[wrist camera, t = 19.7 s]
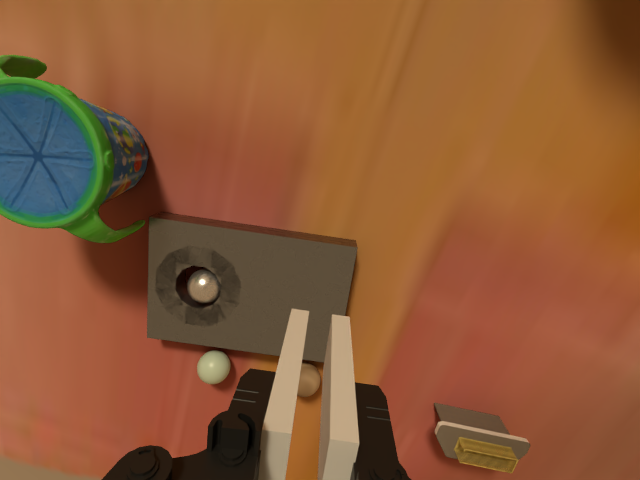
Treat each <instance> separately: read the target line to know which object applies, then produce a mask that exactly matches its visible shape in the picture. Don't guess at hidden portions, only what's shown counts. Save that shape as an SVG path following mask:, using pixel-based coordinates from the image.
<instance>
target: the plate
mask: <svg viewBox="0 0 640 480" xmlns="http://www.w3.org/2000/svg"><path fill="white" fill-rule="evenodd" d="M356 253H357V244H356V240H349V239H342V238H335V237H328V236H322V235H315V234H308V233H301V232H294V231H288V230H281V229H274V228H267V227H260V226H254V225H247V224H240V223H233V222H226V221H220V220H213V219H206V218H199V217H192V216H186V215H179V214H172V213H165V212H159V213H157V214H155V215H153V216H150V217H149V254H148V312H147V338H154V339H161V340H168V341H175V342H182V343H189V344H197V345H204V346H211V347H218V348H225V349H232V350H239V351H246V352H254V353H261V354H268V355H275V356H280V354H281V350H282V346H283V342H284V338H285V334H286V330H287V326H288V322H289V318H290V314H291V310H292V309H299V310H306V311H309V316H308V323H307V330H306V337H305V344H304V351H303V358H302V359H303V360H311V361H318V362H324V361H325V355H326V349H327V342H328V336H329V330H330V324H331V318H332V314H334V315H341V316H345V313H346V308H347V302H348V297H349V291H350V286H351V280H352V275H353V269H354V264H355V259H356ZM191 266H200V267H206V268H207V269H208V270H210V271H211V272H213V273H214V274H216V276H217V278H218V280H219V282H220V284H221V289H220V296H219V297H218V298H217V299H216V300H214V301H212V302H209V303H200V302H197V301H195V300H194V299H192V298H191V296H190V295H189V293H188V290H187V283H186V281H185V270H186V268H188V267H191Z"/></svg>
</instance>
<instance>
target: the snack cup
mask: <svg viewBox="0 0 640 480" xmlns="http://www.w3.org/2000/svg"><path fill="white" fill-rule="evenodd" d="M46 69H47V66H46V65H45V64H44V63H42V62H41V61H39V60H38V59H34V58H31V57H25V56H18V55H2V56H0V214H1V215H2V216H4V217H6V218H7V219H9V220H12V221H14V222H16V223H19V224H22V225H25V226H28V227H34V228H62V229H64V230H67V231H68V232H70V233H72V234H73V235H75V236H78V237H80V238H82V239H85V240H88V241H92V242H97V243H112V242H116V241H118V240H120V239H122V238H123V237H126V236H128V235H130V234H132V233H134V232H135V231H137V230H139V229H140V228H141V227H142V226H143V225H144V224H145V220H139V221H137V222H135V223H133V224H132V225H130V226H128V227H126V228H122V229H119V230H116V231H114V230H113V229H111V228H110V227H108V226H107V225H106V224H104V222H103V221H102V220H101V219H100V217H99V213H98V210H99V207H100V205H102V204H104V203H105V202H107V201H109V200H111V199H113V198H115V197H117V196H119V195H120V194H122V193H123V192H125V191H127V190H129V189H130V188H132V187H134V186H135V185H136V184H137V182H138V181H139V180H140V179H141V178H142V176H143V175H144V173H145V171H146V167H147V160H148V158H149V155H148V150H147V148H146V146H145V142H144V139H143V137H142V135H141V134H140V133H139V131H138V130H137V129H136V128H135V127H134V126H133V125H132V124H131V123H130V122H129V121H128V120H127V119H126V118H124V117H122V116H119V115H118V114H116V113H114V112H112V111H110V110H107V109H105V108H102V107H100V106H97V105H95V104H92V103H90V102H87V101H85V100H82V99H79V98H78V97H77V96H76V95H75V94H74V93H73V92H71V91H70V90H68V89H66V88H65V87H63V86H61V85H54V84H51V83H49V82H46V81H42V80H38V79H35V78H37V77H38V76H40V75H42V74H43V73H44V72H45V71H46ZM6 74H7V75H9V76H11V77H9V76H7V75H6Z"/></svg>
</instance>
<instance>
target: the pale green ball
mask: <svg viewBox="0 0 640 480" xmlns="http://www.w3.org/2000/svg"><path fill="white" fill-rule="evenodd" d="M230 367H231V365H230V360H229V358H228V356H227V355H226V354H225V353H223V352H222V351H218V350H212V351H209V352H207V353H205V354H204V355H203V356H202V357H201V358H200V360H199V362H198V365H197V372H198V375H199V377H200V379H201V380H202V381H203V382H205V383H208V384H217V383H220V382H222V381H223V380H224V379H225V378H226V377H227V376H228V374H229V371H230Z"/></svg>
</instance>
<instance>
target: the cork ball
mask: <svg viewBox="0 0 640 480" xmlns="http://www.w3.org/2000/svg"><path fill="white" fill-rule="evenodd" d="M320 382H321V377H320V373H319V371H318V369H317V368H316V367H315V366H314V365H312V364H309V363H302V365H301V372H300V379H299V386H298V393H297V395H298V396H301V397H308V396H311V395H313V394H314V393H315V392H316V391H317V390H318V388H319V386H320Z"/></svg>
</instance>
